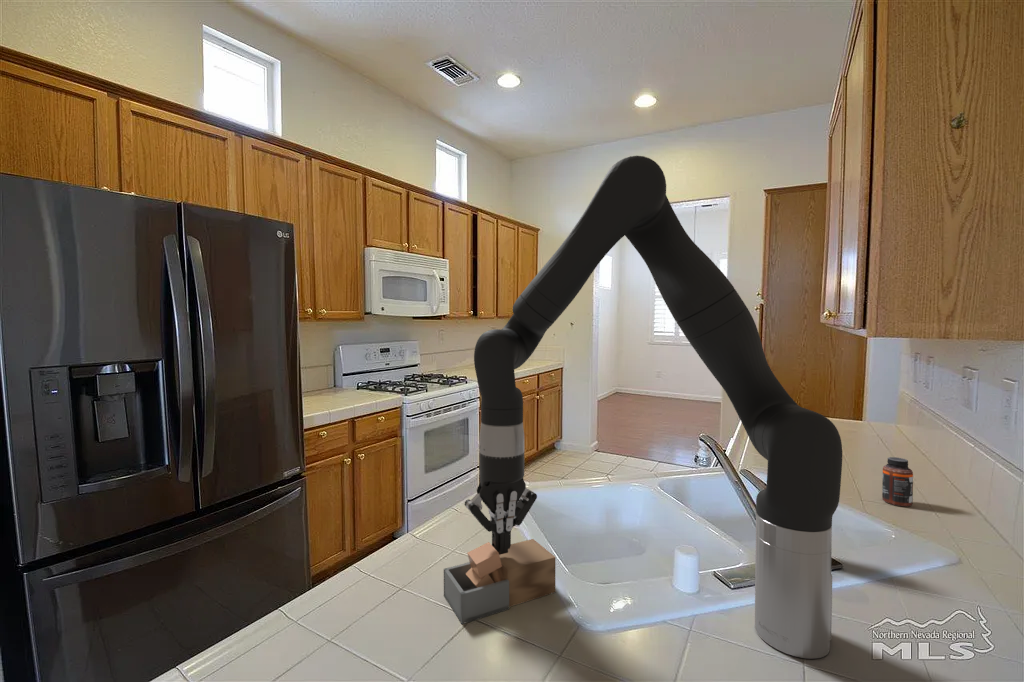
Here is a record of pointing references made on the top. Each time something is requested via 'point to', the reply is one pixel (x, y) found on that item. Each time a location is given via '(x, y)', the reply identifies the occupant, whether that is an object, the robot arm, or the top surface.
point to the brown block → (526, 571)
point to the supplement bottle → (897, 482)
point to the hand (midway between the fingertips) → (501, 551)
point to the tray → (473, 595)
